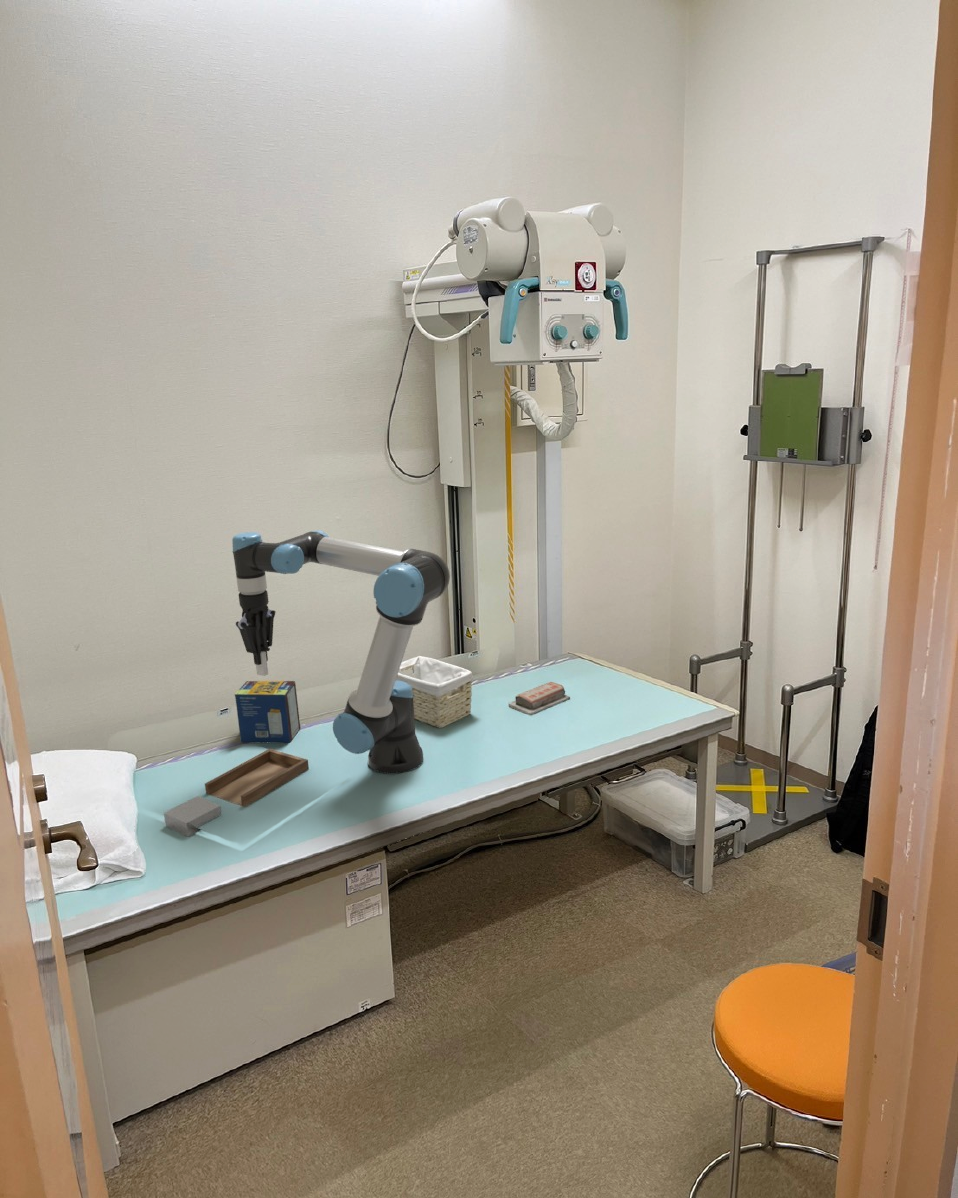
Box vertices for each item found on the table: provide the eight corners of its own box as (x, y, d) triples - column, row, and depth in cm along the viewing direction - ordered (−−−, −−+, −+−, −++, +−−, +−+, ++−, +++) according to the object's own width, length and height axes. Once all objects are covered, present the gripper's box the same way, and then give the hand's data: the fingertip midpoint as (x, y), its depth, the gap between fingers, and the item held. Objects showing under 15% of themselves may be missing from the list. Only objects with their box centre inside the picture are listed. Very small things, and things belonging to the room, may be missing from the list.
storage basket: (477, 714, 282) (475, 669, 278) (440, 732, 271) (437, 686, 267) (423, 696, 298) (420, 654, 294) (385, 712, 287) (382, 668, 283)
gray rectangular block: (222, 820, 227) (220, 805, 226) (188, 838, 220) (186, 823, 219) (199, 810, 233) (197, 796, 231) (165, 827, 225) (163, 813, 224)
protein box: (251, 728, 279) (246, 680, 275) (300, 728, 278) (296, 680, 273) (239, 743, 269) (233, 694, 265) (290, 743, 268) (285, 694, 263)
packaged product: (547, 678, 297) (570, 686, 290) (547, 692, 299) (570, 700, 291) (507, 693, 286) (530, 702, 279) (507, 708, 287) (530, 717, 280)
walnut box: (309, 773, 249) (307, 759, 248) (245, 811, 230) (244, 796, 229) (270, 761, 257) (269, 748, 255) (206, 797, 238) (204, 783, 237)
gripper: (259, 583, 250) (269, 664, 257) (224, 596, 240) (235, 680, 246) (280, 586, 247) (289, 668, 253) (245, 599, 236) (256, 684, 242)
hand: (262, 674), depth 250 cm, fingers closed
